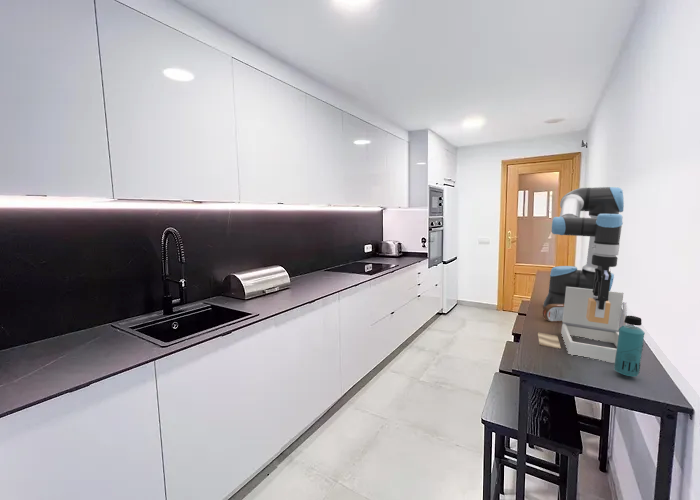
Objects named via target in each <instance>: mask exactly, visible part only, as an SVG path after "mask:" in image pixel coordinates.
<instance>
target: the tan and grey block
mask: <svg viewBox="0 0 700 500" xmlns="http://www.w3.org/2000/svg"><path fill="white" fill-rule="evenodd" d="M595 299H598V298H597V297H593V298H588V306H587V314H586V318H587V320H588V321H590V322H597V323H604V324H608V321H609V313H610V305H611V303H610V302H609V301H606V305H605V313H604V318H600V317H595V309H596V301H597V300H595Z"/></svg>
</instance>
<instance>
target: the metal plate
mask: <svg viewBox="0 0 700 500" xmlns="http://www.w3.org/2000/svg"><path fill="white" fill-rule="evenodd" d="M537 338H538V344H539V346H543V347H546V348H547V347H548V348H551V349H552V348H553V349H558V348H559V350H562V347H561V344H560V341H559V337H558V335H556V334H550V333H549V334H548V333H542V332H537Z"/></svg>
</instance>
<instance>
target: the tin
mask: <svg viewBox="0 0 700 500" xmlns="http://www.w3.org/2000/svg"><path fill="white" fill-rule="evenodd" d="M563 312H564V304H549V305H547V306H546V307H544V308H543V309H542V313H541V314H542V317H543V319H544V320H547V321H548V322H551V323H555V322H557V321H563Z"/></svg>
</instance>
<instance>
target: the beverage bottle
mask: <svg viewBox="0 0 700 500" xmlns="http://www.w3.org/2000/svg"><path fill="white" fill-rule="evenodd" d="M624 322H625V323H627V324H628V325H624V324H623V325H622V326H619V336H618V344H617V347H616V349H617V351H616V355H615V356H616V358H615V363H614V371H615V372H617V373H619V374H621V375H624V376H628V377H638V376H639V375H640V371H641V364H642V362H641V361H642V358H643V357H642V355H643V348H644V345H645V344H644V342H645V339H644V338H645V331H644V330H643V329H642V328H641V327H640V326H642V323H643V322H642V318H641V317H638V316H635V315H627V316H626V317H625V320H624Z"/></svg>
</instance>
